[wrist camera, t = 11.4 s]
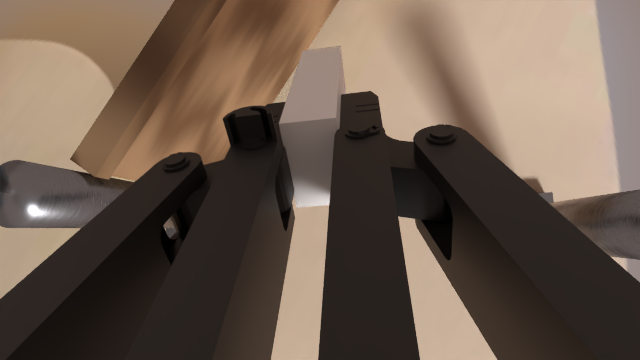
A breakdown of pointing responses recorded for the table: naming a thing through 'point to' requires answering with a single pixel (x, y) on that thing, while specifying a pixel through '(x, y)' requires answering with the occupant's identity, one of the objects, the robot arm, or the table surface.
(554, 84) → the table surface
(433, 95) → the table surface
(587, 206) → the gate frame
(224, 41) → the gate
